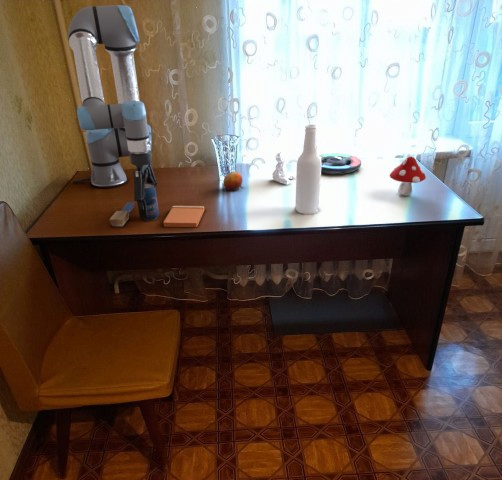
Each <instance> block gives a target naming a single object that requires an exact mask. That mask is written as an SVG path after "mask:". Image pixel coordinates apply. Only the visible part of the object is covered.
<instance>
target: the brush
mask: <svg viewBox="0 0 502 480" xmlns="http://www.w3.org/2000/svg"><path fill="white" fill-rule="evenodd" d="M134 207H135V201H127V203H126V204H124V206H123V207H122V208H121V210H116V211H115V212H114V213H113V214H112V216H110V218H109V224H110V225H111V227H124V225H125V224H126V223H127V222H128V220H129V217H130V213H131V211H132V210H133V208H134Z"/></svg>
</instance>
